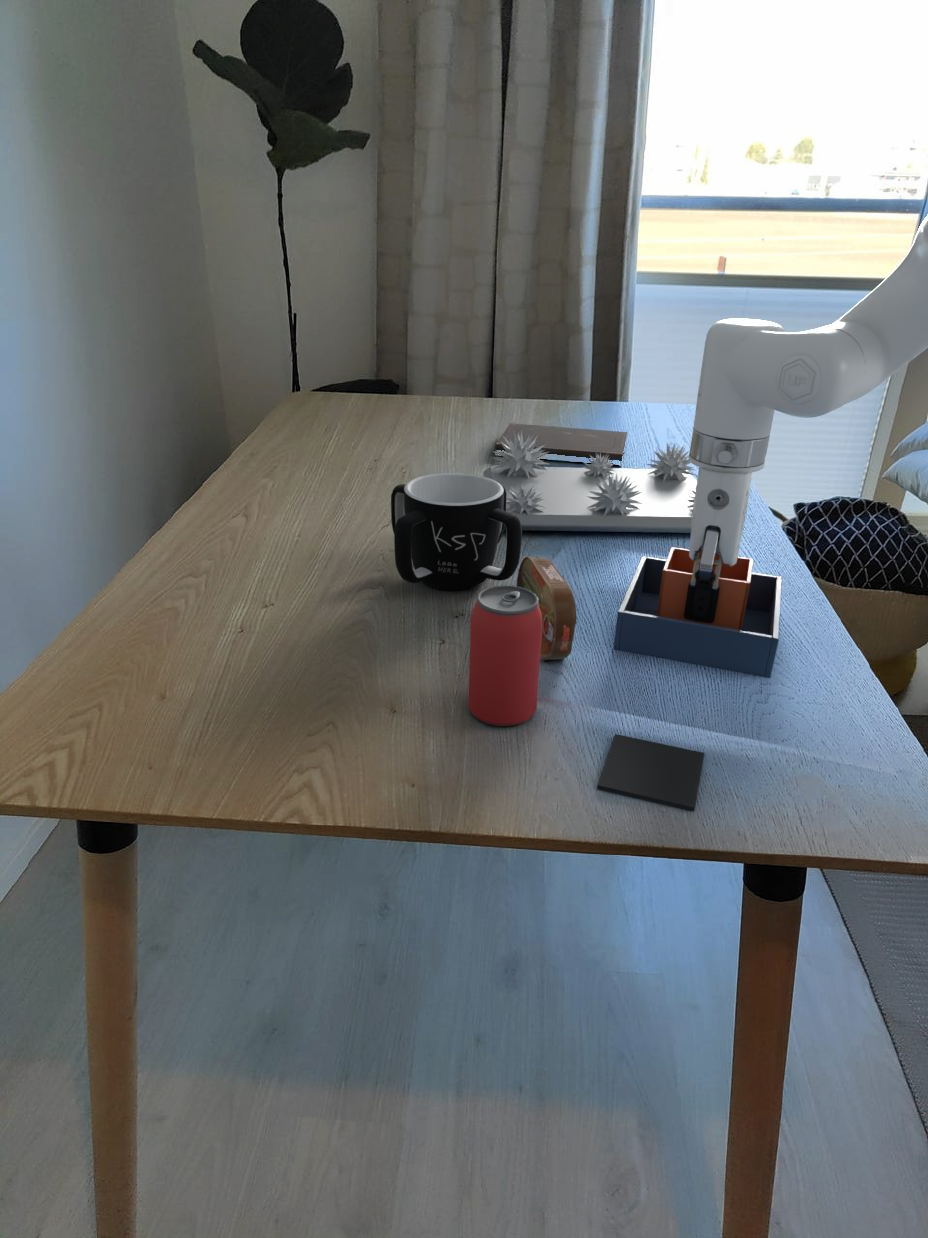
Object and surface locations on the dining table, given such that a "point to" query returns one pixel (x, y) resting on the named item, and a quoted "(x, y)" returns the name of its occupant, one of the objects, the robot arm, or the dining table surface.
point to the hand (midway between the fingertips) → (702, 603)
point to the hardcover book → (569, 440)
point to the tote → (700, 626)
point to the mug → (453, 530)
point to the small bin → (730, 583)
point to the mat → (652, 772)
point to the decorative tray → (595, 492)
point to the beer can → (504, 655)
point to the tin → (550, 605)
